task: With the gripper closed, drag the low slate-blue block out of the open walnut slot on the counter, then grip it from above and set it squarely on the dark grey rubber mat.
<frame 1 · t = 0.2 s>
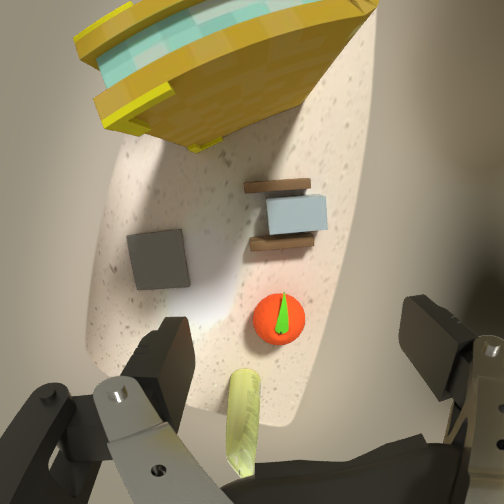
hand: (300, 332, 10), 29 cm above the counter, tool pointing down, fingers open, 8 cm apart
book: (246, 103, 35), on the counter
tube: (245, 377, 46), on the counter
clementine: (277, 304, 42), on the counter
slot: (278, 212, 39), on the counter
mat: (158, 260, 40), on the counter
block: (293, 210, 39), on the counter
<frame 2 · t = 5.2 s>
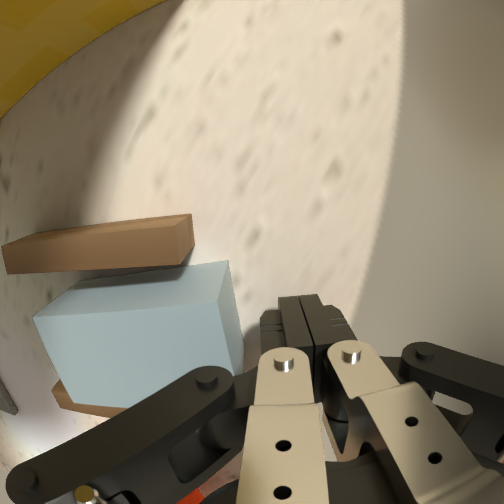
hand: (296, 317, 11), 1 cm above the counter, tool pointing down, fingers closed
book: (52, 28, 9), on the counter
clementine: (166, 471, 16), on the counter
slot: (119, 316, 12), on the counter
block: (158, 313, 12), on the counter, touching gripper
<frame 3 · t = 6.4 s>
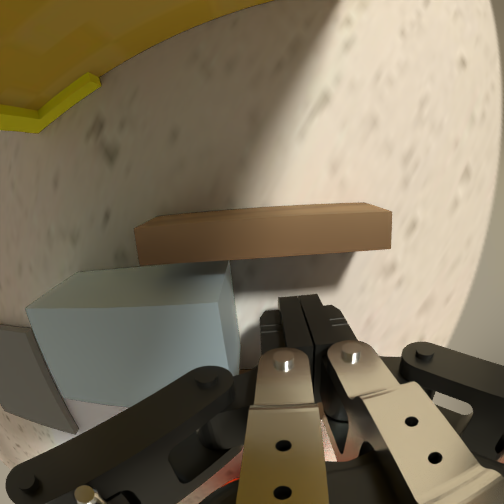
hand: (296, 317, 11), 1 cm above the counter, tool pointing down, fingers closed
slot: (268, 310, 12), on the counter
mat: (15, 375, 14), on the counter
block: (154, 310, 12), on the counter, touching gripper
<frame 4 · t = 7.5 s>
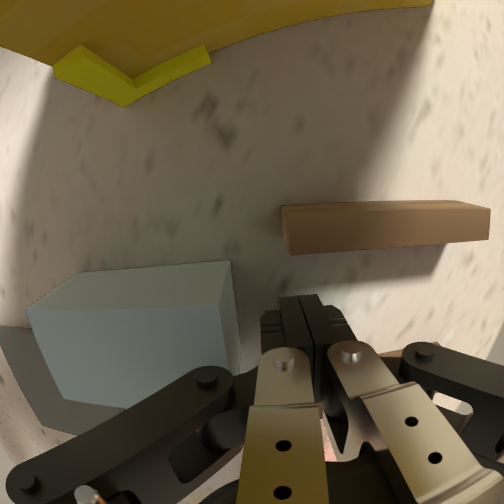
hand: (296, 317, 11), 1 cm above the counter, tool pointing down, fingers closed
slot: (376, 299, 12), on the counter
mat: (63, 387, 14), on the counter
block: (154, 311, 12), on the counter, touching gripper, mat
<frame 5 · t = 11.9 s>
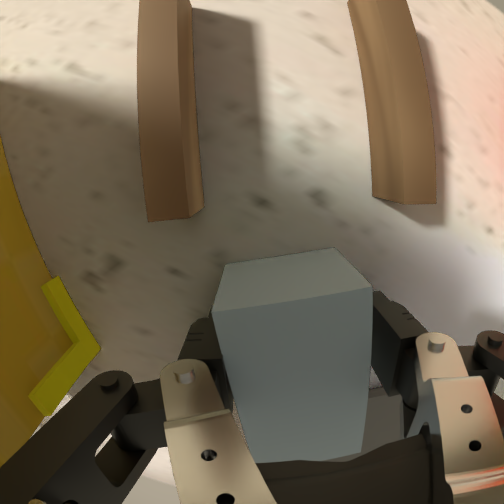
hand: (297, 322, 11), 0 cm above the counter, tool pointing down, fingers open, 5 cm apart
slot: (282, 87, 9), on the counter
mat: (381, 433, 13), on the counter
block: (290, 336, 12), on the counter, touching gripper
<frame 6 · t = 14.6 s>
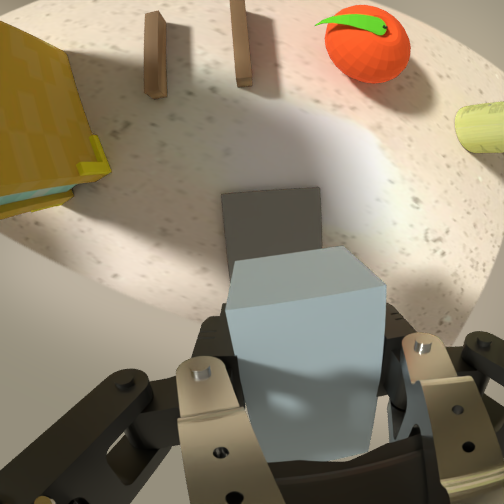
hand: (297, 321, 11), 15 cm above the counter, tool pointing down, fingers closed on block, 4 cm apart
book: (59, 115, 22), on the counter
tube: (467, 129, 22), on the counter
clementine: (348, 56, 21), on the counter
slot: (199, 51, 21), on the counter
mat: (273, 237, 25), on the counter
block: (298, 335, 12), point 14 cm above the counter, touching gripper
when the fingers open (2 cm above the counter, at t = 17.2 s): block stays where it is, resting on mat.
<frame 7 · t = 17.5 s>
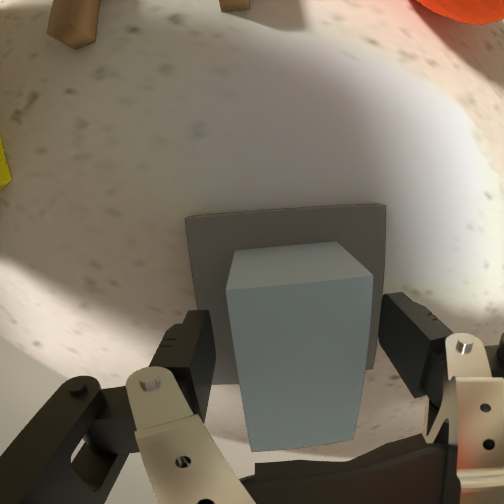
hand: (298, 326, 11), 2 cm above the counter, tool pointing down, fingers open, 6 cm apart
mat: (291, 300, 13), on the counter
block: (290, 325, 12), point 1 cm above the counter, touching mat
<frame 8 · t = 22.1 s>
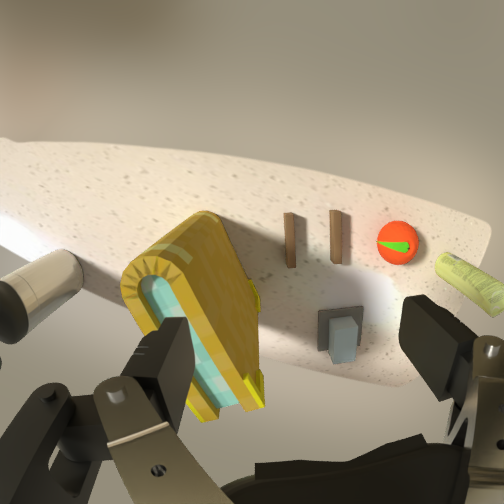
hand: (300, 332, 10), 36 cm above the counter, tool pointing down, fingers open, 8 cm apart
book: (219, 260, 48), on the counter
tube: (442, 264, 48), on the counter
clementine: (385, 237, 46), on the counter
slot: (311, 236, 46), on the counter
mat: (339, 328, 51), on the counter
block: (339, 334, 50), point 1 cm above the counter, touching mat
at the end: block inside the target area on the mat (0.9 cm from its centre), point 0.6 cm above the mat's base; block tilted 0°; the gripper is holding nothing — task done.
